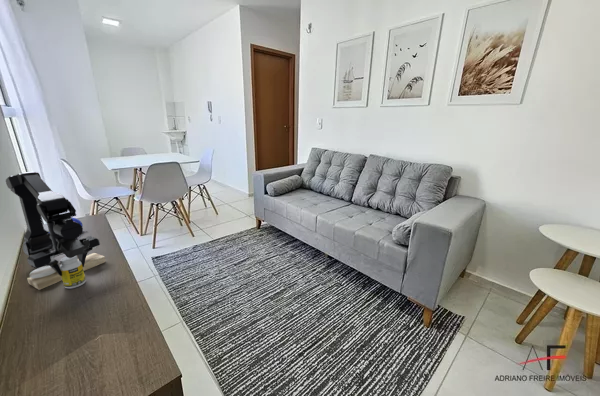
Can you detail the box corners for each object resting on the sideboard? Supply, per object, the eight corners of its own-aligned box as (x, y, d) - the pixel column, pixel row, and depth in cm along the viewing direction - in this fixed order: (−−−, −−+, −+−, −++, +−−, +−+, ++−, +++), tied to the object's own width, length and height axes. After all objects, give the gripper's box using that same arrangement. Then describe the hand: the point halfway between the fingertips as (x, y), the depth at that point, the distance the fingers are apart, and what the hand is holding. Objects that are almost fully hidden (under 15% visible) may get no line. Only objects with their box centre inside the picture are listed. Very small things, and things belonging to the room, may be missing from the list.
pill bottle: (73, 290, 90) (65, 263, 87) (60, 288, 92) (51, 261, 89) (90, 280, 96) (83, 254, 93) (77, 278, 97) (70, 253, 94)
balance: (29, 284, 94) (22, 264, 92) (95, 257, 113) (91, 240, 111) (39, 289, 91) (32, 269, 88) (105, 261, 110) (101, 244, 108)
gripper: (36, 248, 77) (49, 291, 81) (103, 227, 93) (112, 264, 97) (20, 241, 81) (34, 282, 86) (87, 222, 97) (96, 257, 102)
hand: (72, 271), depth 92 cm, fingers closed on pill bottle, 6 cm apart
